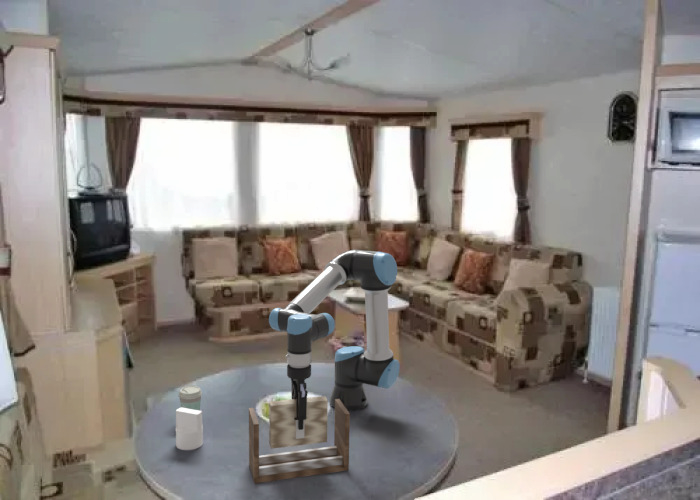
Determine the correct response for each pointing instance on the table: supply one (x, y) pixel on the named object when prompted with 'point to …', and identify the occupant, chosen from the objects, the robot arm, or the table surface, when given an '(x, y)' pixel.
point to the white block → (189, 429)
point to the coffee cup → (190, 397)
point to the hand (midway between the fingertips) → (298, 434)
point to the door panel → (285, 425)
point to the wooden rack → (301, 453)
